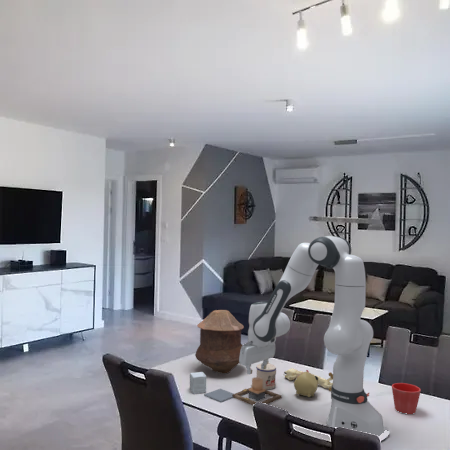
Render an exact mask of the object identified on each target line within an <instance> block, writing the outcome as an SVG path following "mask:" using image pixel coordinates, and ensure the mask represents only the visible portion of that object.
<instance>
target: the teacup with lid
mask: <svg viewBox="0 0 450 450" xmlns="http://www.w3.org/2000/svg"><path fill="white" fill-rule="evenodd" d="M262 364H263V362H261V363H258V364H257V365H256V367H255V368H256V377H259V378H262V379H263V388H264V389H265V390H273V389H274V388H276V375H277V367H276V365H275V364H272V363H271V362H269V360H268V363H267V365H266V369H264V370H263V369H261V365H262Z"/></svg>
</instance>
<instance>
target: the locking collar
mask: <svg viewBox="0 0 450 450" xmlns="http://www.w3.org/2000/svg"><path fill="white" fill-rule="evenodd" d="M250 388H252V387H251V386H250V387H248V388H243V389H242V390H241V391H238V392H236V393H233V395H232V396H233V398H232V399H235V400H238V401H240V402H244V403H246V404H248V405H251V406H253V404H255V403H256V402H257V401H256V400H254V399H251V398H249V397H244V396H245V395H247V394H249V389H250ZM265 395H267V396H270V398H268V399H265V400H263V401H261V402H262V403H266V404H267V405H269V404H272V403H274V402H276V401H279V400H281V399H282V398H283V397H282V396H283V395H281V394H278V393H276V392H273V391H270V390H269V389H265Z"/></svg>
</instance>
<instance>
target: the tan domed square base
mask: <svg viewBox="0 0 450 450" xmlns="http://www.w3.org/2000/svg"><path fill="white" fill-rule="evenodd" d="M251 387H252V388H251ZM249 388H250V389H249V391H251V392H254V393H257V394H259V393H262V392H264V391H265V390H266V389H264V388H263V379H262V378H259V377H257V376H254V377H252V378H251V385H250V387H249Z"/></svg>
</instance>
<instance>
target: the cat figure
mask: <svg viewBox="0 0 450 450" xmlns="http://www.w3.org/2000/svg"><path fill="white" fill-rule="evenodd" d="M304 372H309V373H310V371H309V369H306V370H305V371H302V370H298V369H296V368H292V367H290V368H289V369H287V370H285V371H284V372H283V376H284V377H285V378H286V379H288V380H289V381H295V380H296V379H297V377H298V376H299V375H301V374H302V373H304ZM314 376H317V377H318V383H317V385H318V386H321V387H323V389H328V391H329V392H331V387H332V385H333V382H331V381H333V372H331V371H330V372H329V373H328V376H329V378H328V379H326V378H324V377H321V376H319V375H316V374H314Z"/></svg>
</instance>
